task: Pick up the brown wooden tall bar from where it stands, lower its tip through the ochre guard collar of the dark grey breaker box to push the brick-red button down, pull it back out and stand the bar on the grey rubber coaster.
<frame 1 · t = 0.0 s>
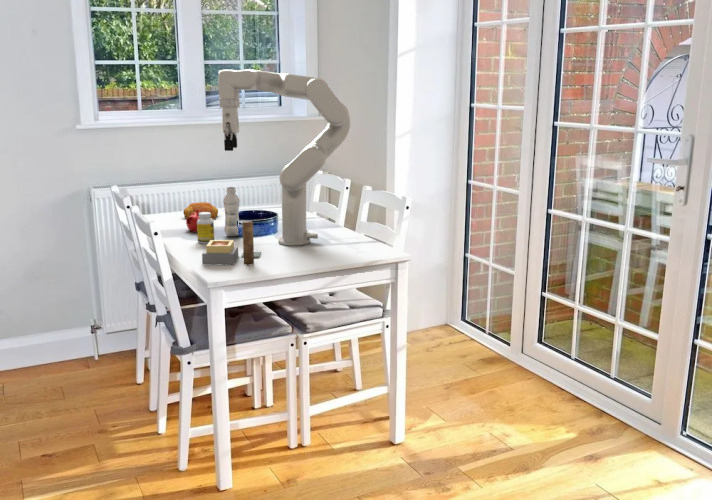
hand: (231, 149, 271), 37 cm above the table, tool pointing down, fingers open, 9 cm apart
plastic bottle: (232, 236, 290), on the table
pill bottle: (206, 242, 280), on the table
croissant: (201, 218, 325), on the table
brown wooden tall bar: (248, 263, 251), on the table
breaker button: (220, 249, 253), point 4 cm above the table, slide at 0.0 cm
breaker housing: (220, 260, 254), on the table
coaster: (251, 255, 261), on the table
pomegranate: (198, 230, 300), on the table
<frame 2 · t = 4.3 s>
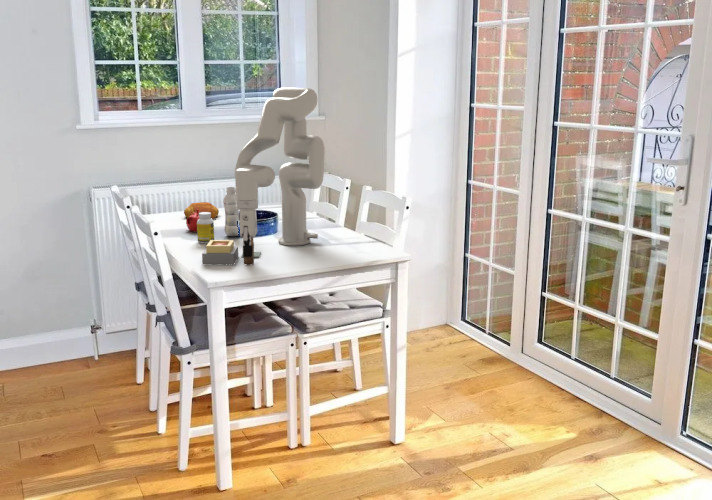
hand: (248, 254, 250), 3 cm above the table, tool pointing down, fingers closed on brown wooden tall bar, 3 cm apart
brown wooden tall bar: (248, 263, 251), on the table, touching gripper
everything else where it was.
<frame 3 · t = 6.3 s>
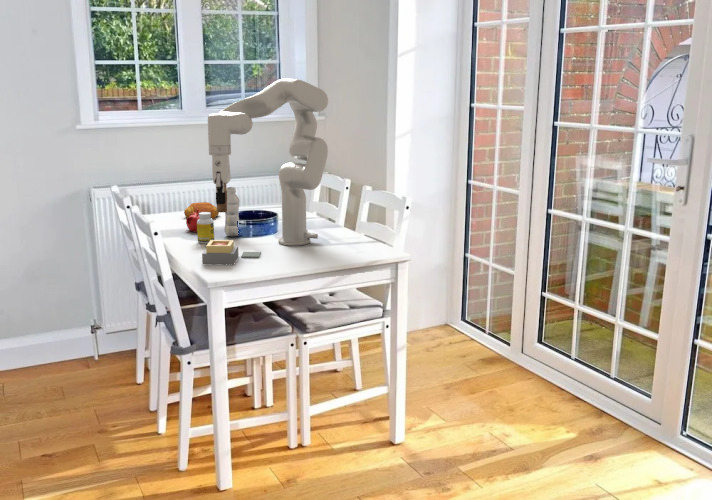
hand: (221, 202, 248), 21 cm above the table, tool pointing down, fingers closed on brown wooden tall bar, 3 cm apart
brown wooden tall bar: (222, 211, 249), point 18 cm above the table, touching gripper
everything else where it was.
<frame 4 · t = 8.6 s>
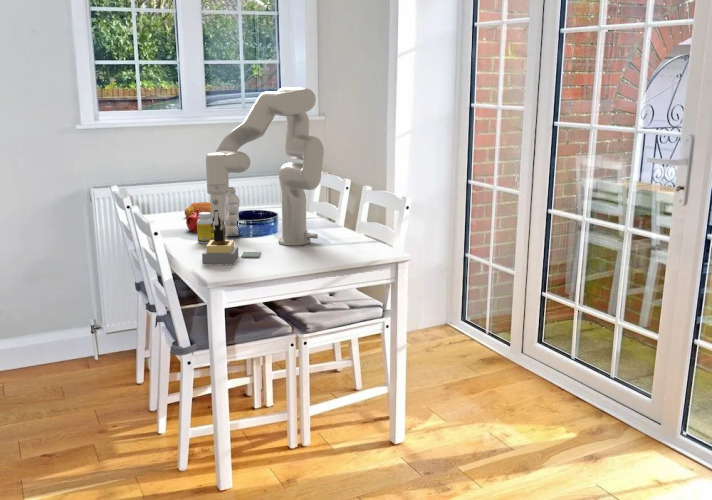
hand: (219, 239, 252), 8 cm above the table, tool pointing down, fingers closed on brown wooden tall bar, 3 cm apart
brown wooden tall bar: (220, 247, 253), point 5 cm above the table, touching breaker button, gripper
breaker button: (220, 252, 253), point 3 cm above the table, slide at 1.3 cm, touching brown wooden tall bar
everything else where it was.
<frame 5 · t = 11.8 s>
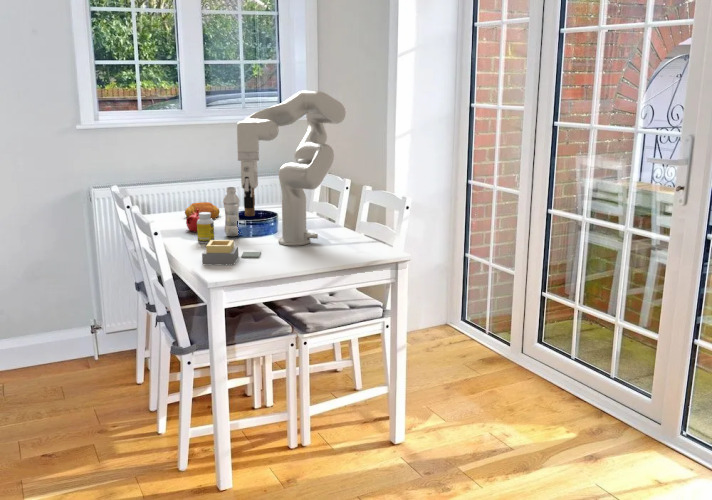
hand: (249, 206, 256), 19 cm above the table, tool pointing down, fingers closed on brown wooden tall bar, 3 cm apart
brown wooden tall bar: (249, 215, 257), point 15 cm above the table, touching gripper
breaker button: (220, 252, 253), point 3 cm above the table, slide at 1.3 cm
everything else where it was.
when the fingers open (4 cm above the table, at t = 14.5 s): brown wooden tall bar stays where it is, resting on coaster.
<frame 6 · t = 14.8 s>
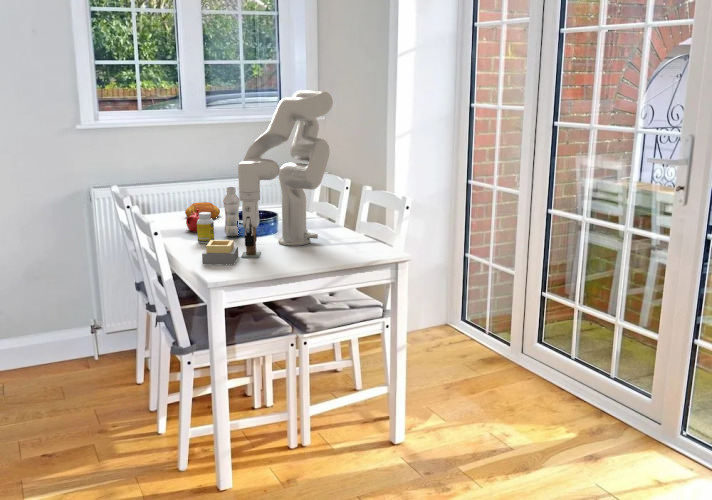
hand: (250, 243, 260), 5 cm above the table, tool pointing down, fingers open, 6 cm apart
brown wooden tall bar: (251, 254, 261), point 1 cm above the table, touching coaster
everything else where it was.
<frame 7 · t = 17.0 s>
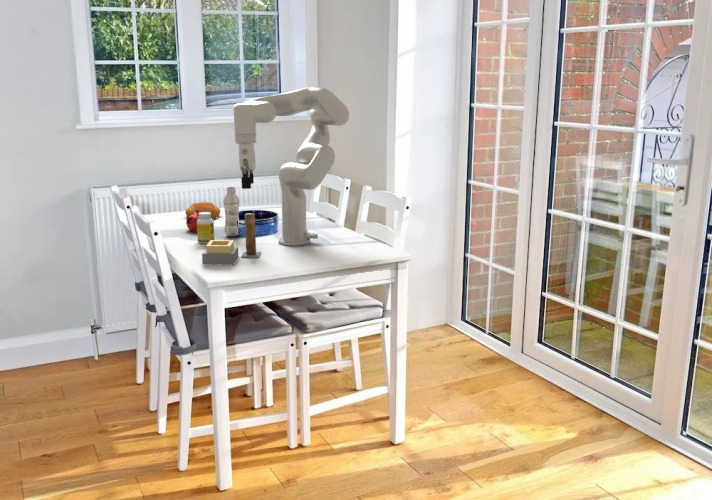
hand: (247, 186, 257), 26 cm above the table, tool pointing down, fingers open, 9 cm apart
nothing on the table moved.
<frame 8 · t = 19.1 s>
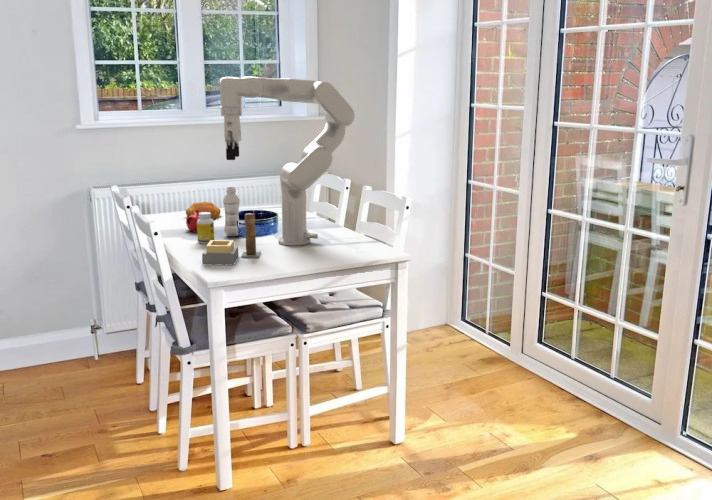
hand: (232, 158, 264), 34 cm above the table, tool pointing down, fingers open, 9 cm apart
at the end: breaker button slide at 1.3 cm; brown wooden tall bar 0.0 cm from the coaster (horizontally); the gripper is holding nothing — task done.
